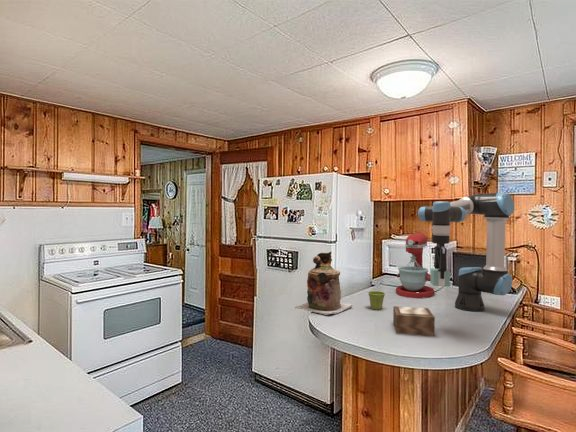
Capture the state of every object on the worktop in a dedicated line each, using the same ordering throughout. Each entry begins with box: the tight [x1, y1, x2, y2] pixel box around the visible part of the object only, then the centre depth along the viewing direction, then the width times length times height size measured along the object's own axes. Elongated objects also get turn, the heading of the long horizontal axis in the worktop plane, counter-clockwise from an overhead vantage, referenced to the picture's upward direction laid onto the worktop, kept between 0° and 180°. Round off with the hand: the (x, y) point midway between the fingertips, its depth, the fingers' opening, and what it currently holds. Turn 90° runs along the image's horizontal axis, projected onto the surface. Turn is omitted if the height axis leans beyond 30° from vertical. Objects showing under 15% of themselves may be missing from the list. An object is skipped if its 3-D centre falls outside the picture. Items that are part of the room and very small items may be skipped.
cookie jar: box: [294, 251, 353, 316], centre depth 206 cm, size 25×25×32 cm
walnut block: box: [392, 305, 436, 337], centre depth 171 cm, size 16×16×8 cm
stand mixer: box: [395, 232, 435, 299], centre depth 247 cm, size 24×32×40 cm
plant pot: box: [367, 290, 386, 311], centre depth 207 cm, size 9×9×9 cm
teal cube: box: [429, 267, 451, 287], centre depth 172 cm, size 7×7×7 cm
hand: (439, 284), depth 172 cm, fingers closed on teal cube, 7 cm apart
